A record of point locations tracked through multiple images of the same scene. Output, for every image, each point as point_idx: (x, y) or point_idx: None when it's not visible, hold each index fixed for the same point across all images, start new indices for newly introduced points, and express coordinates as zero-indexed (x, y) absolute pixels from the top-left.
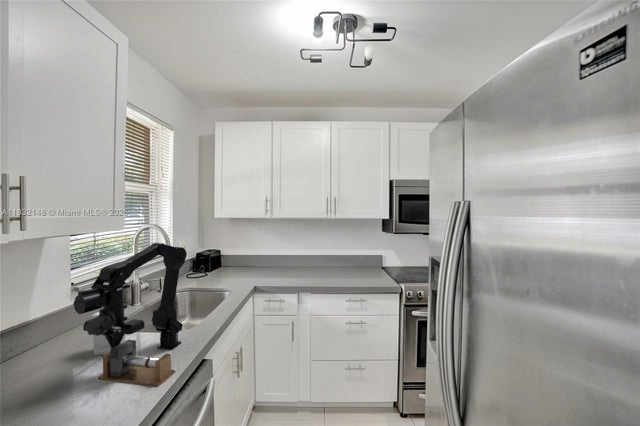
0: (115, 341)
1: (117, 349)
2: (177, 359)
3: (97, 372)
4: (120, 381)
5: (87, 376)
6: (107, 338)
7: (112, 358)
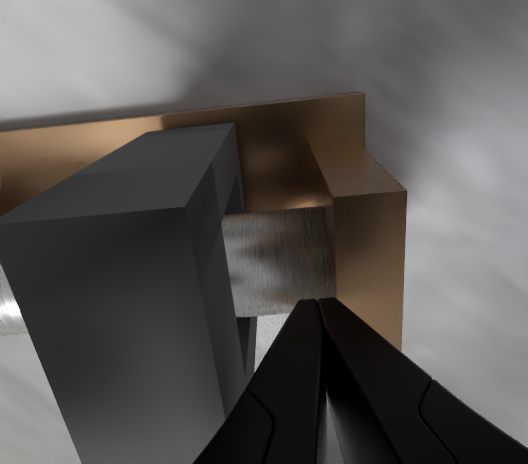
0: (231, 413)
1: (32, 243)
2: (45, 436)
3: (464, 177)
4: (129, 117)
5: (501, 104)
6: (475, 446)
7: (174, 163)
